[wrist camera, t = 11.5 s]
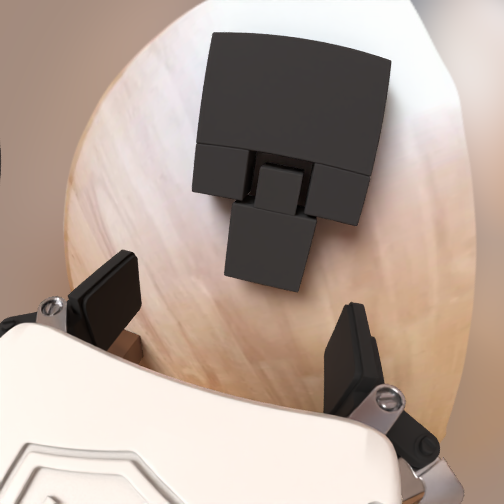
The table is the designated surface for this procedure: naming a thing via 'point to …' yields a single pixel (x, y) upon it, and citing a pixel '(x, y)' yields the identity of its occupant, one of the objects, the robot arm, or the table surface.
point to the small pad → (271, 231)
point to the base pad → (291, 117)
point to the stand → (127, 347)
